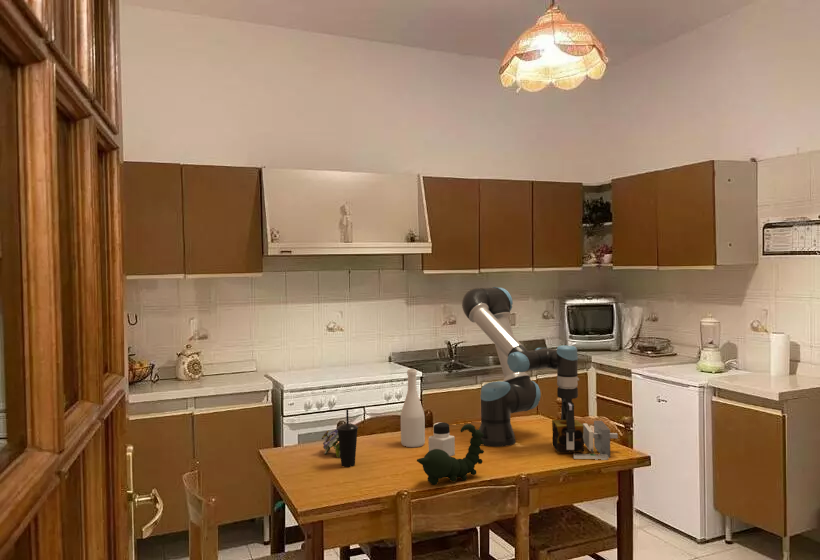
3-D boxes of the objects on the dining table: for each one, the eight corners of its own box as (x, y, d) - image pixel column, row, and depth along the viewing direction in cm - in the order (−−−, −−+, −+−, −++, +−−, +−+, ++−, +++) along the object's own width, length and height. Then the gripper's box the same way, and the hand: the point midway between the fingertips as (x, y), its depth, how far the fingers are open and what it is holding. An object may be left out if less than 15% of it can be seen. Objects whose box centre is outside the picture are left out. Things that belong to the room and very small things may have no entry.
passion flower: (327, 468, 241) (317, 439, 246) (353, 459, 245) (343, 431, 250) (329, 458, 232) (319, 428, 237) (357, 449, 236) (347, 420, 241)
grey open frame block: (574, 459, 229) (573, 432, 229) (566, 446, 246) (566, 420, 246) (612, 460, 228) (612, 432, 228) (602, 446, 245) (601, 420, 245)
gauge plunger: (591, 453, 229) (590, 434, 229) (582, 441, 245) (582, 423, 245) (623, 453, 228) (623, 434, 228) (613, 441, 244) (613, 423, 244)
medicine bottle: (455, 455, 237) (454, 423, 237) (442, 459, 232) (442, 426, 232) (440, 451, 242) (440, 420, 242) (428, 455, 237) (427, 423, 236)
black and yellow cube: (584, 452, 234) (584, 426, 234) (557, 453, 235) (557, 426, 234) (578, 445, 245) (578, 419, 244) (551, 445, 245) (551, 419, 245)
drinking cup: (342, 469, 222) (341, 412, 221) (334, 463, 229) (333, 408, 228) (362, 466, 225) (361, 410, 225) (353, 460, 232) (353, 406, 232)
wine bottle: (429, 445, 251) (428, 369, 250) (409, 449, 245) (408, 372, 245) (416, 440, 259) (414, 366, 258) (396, 444, 253) (395, 369, 253)
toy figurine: (470, 475, 218) (407, 482, 206) (473, 420, 219) (411, 423, 206) (487, 483, 210) (422, 490, 198) (490, 426, 211) (426, 429, 198)
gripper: (583, 393, 227) (583, 454, 228) (572, 381, 250) (573, 437, 251) (561, 392, 228) (562, 454, 229) (553, 381, 251) (553, 437, 251)
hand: (568, 445), depth 240 cm, fingers closed on black and yellow cube, 10 cm apart
